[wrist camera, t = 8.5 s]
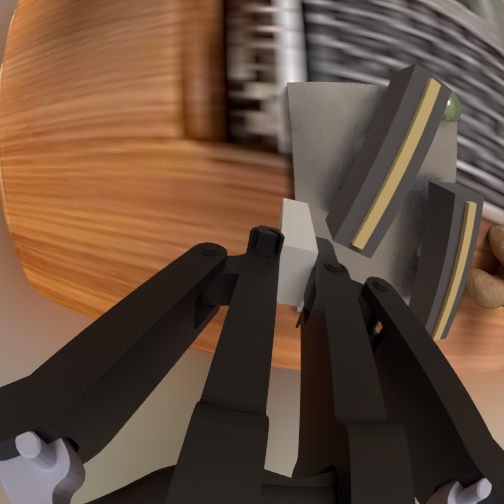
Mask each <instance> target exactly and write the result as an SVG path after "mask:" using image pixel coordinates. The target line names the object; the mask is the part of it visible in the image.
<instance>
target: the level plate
mask: <svg viewBox="0 0 504 504" xmlns="http://www.w3.org/2000/svg"><path fill="white" fill-rule="evenodd" d="M387 88H388V87H387V86H379V85H368V84H356V83H337V82H292V83H287V90H288V100H289V112H290V124H291V137H292V152H293V168H294V187H295V201H299V202H304V203H308V206H309V211H310V215H311V220H312V224H313V229H314V233H315V236H316V237H320V238H325V239H328V240H329V241H330V242H331V243H332V244H333V247H334V250H335V254H336V257H337V260H338V262H339V263H341V264H343V265H344V266H345V267H346V268H347V270H348V272H349V275H350V278H351V279H352V280H355V281H357V282H359V283H362V284H364V283H365V281H366V279H367V278H368V277H380V278H381V279H384V280H385V281H387V282H388V283H390V284H391V285H392V286H393V288H394V289H395V290H396V291H397V293H398V294H399V295H400V296H401V298H402V299H403V300H404V301H405V303H406V304H407V305H408V306H409V302H410V298H411V294H412V290H413V286H414V281H415V277H416V272H417V267H418V262H419V257H418V253H417V251H418V247H419V245H420V243H421V242H422V239H423V232H424V225H425V217H426V208H427V198H428V185H429V181H438V182H449V183H455V180H456V163H457V121H458V120H459V118H460V116H461V104H460V102H459V100H458V98H457V97H456V95H455V94H453V93H452V92H451V95H450V98H449V101H448V104H447V106H446V109H445V112H444V114H443V117H442V120H441V122H440V125H439V127H438V130H437V132H436V134H435V137H434V139H433V142H432V144H431V146H430V148H429V151H428V153H427V155H426V157H425V160H424V162H423V164H422V166H421V168H420V170H419V172H418V174H417V176H416V178H415V180H414V182H413V184H412V186H411V188H410V190H409V192H408V194H407V196H406V198H405V200H404V202H403V204H402V206H401V208H400V209H399V211H398V213H397V215H396V217H395V219H394V220H393V222H392V224H391V226H390V227H389V229H388V231H387V233H386V234H385V236H384V238H383V239H382V241H381V243H380V244H379V246H378V248H377V249H376V251H375V253H374V254H373V256H372V258H371V259H370V258H367V257H365V256H363V255H361V254H359V253H357V252H355V251H353V250H351V249H349V248H347V247H345V246H342V245H340V244H338V243H336V242H334V241H333V240H332V237H331V234H330V232H329V229H328V226H327V223H326V221H325V219H326V217H327V215H328V213H329V211H330V209H331V207H332V205H333V203H334V201H335V199H336V197H337V195H338V193H339V191H340V189H341V187H342V185H343V183H344V181H345V179H346V177H347V175H348V173H349V171H350V169H351V167H352V165H353V163H354V161H355V159H356V157H357V155H358V153H359V150H360V147H361V144H362V143H363V141H364V140H365V138H366V135H367V133H368V131H369V129H370V127H371V124H372V122H373V120H374V118H375V116H376V113H377V111H378V109H379V106H380V104H381V102H382V100H383V97H384V95H385V93H386V90H387ZM303 305H304V298H303V301H302V303H301V306H300V307H297V312H301V311H302V308H303Z"/></svg>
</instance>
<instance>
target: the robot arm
mask: <svg viewBox="0 0 504 504" xmlns="http://www.w3.org/2000/svg"><path fill="white" fill-rule="evenodd" d="M303 298H304V305H303V308H302V311H301V314H300V316H299V319H298V322H297V324H296V328H298V327H299V325H300V324H301V390H300V391H301V392H300V393H301V394H300V426H299V448H298V459H297V462H296V465H295V467H294V470H293V473H292V477H291V478H290V477H286V476H284V475H280V474H277V473H274V472H271V471H268V470H265V469H264V464H265V456H266V448H267V440H268V431H269V418H268V416H267V415H266V404H267V396H268V387H269V378H270V369H271V359H272V349H273V338H274V327H275V316H276V304H277V303H281V304H286V305H291V306H296V307H300V306H301V303H302V301H303ZM220 306H229V308H228V312H227V315H226V318H225V321H224V325H223V328H222V331H221V334H220V337H219V341H218V344H217V347H216V350H215V354H214V357H213V360H212V363H211V367H210V370H209V373H208V376H207V380H206V383H205V386H204V389H203V393H202V396H201V399H200V401H199V402H197V404H196V406H195V408H194V411H193V414H192V416H191V420H190V423H189V426H188V429H187V432H186V436H185V439H184V442H183V445H182V449H181V452H180V455H179V458H178V461H177V465H173V466H169V467H165V468H162V469H159V470H156V471H154V472H151V473H150V474H148V475H146V476H144V477H142V478H140V479H138V480H136V481H134V482H132V483H130V484H128V485H127V486H124V487H122V488H120V489H118V490H116V491H113V492H111V493H109V494H107V495H105V496H102V497H100V498H97V499H95V500H93V501H90V502H88V503H85V504H415V497H416V499H417V501H418V502H419V503H420V504H504V450H503V449H502V448H501V447H500V446H499V445H498V444H497V442H496V441H495V440H494V439H493V438H492V436H491V434H490V432H489V430H488V428H487V426H486V424H485V422H484V420H483V419H482V417H481V415H480V413H479V411H478V410H477V408H476V406H475V404H474V403H473V401H472V400H471V397H470V396H469V394H468V392H467V391H466V389H465V387H464V386H463V384H462V382H461V381H460V379H459V378H458V376H457V375H456V373H455V371H454V370H453V368H452V367H451V365H450V364H449V362H448V361H447V359H446V358H445V356H444V355H443V353H442V352H441V350H440V349H439V347H438V346H437V345H436V343H435V342H434V340H433V339H432V338H431V336H430V335H429V333H428V332H427V331H426V329H425V328H424V326H423V325H422V324H421V322H420V321H419V320H418V318H417V317H416V316H415V314H414V313H413V312H412V310H411V309H410V308H409V307H408V305H407V304H406V303H405V301H404V300H403V299H402V298H401V296H400V295H399V294H398V293H397V291H396V290H395V289H394V288H393V286H392V285H391V284H390V283H388V282H387V281H385V280H384V279H381V278H380V277H368V278H367V279H366V281H365V283H364V284H362V283H359V282H357V281H355V280H352V279H351V278H350V275H349V272H348V270H347V268H346V267H345V266H344V265H343V264H341V263H339V262H338V260H337V257H336V254H335V250H334V247H333V244H332V243H331V242H330V241H329V240H328V239H325V238H320V237H316V236H315V233H314V229H313V224H312V220H311V215H310V211H309V206H308V203H304V202H299V201H295V200H291V199H286V198H284V199H283V204H282V208H281V213H280V217H279V222H278V226H277V229H276V228H271V227H267V226H262V225H260V226H258V227H255V228H252V229H251V231H250V236H249V241H248V247H247V251H246V253H245V254H243V255H238V256H227V250H226V249H225V248H224V247H222V246H220V245H218V244H214V243H209V242H206V243H200V244H198V245H195V246H194V247H192V248H191V249H190V250H188V251H187V252H185V253H184V254H183V255H181V256H180V257H179V258H177V259H176V260H174V261H173V262H172V263H170V264H169V265H168V266H166V267H165V268H163V269H162V270H161V271H159V272H158V273H157V274H155V275H154V276H153V277H151V278H150V279H149V280H147V281H146V282H145V283H143V284H142V285H141V286H139V287H138V288H137V289H135V290H134V291H133V292H132V293H130V294H129V295H128V296H126V297H125V298H124V299H122V300H121V301H120V302H119V303H117V304H116V305H115V306H113V307H112V308H111V309H110V310H108V311H107V312H106V313H104V314H103V315H102V316H101V317H99V318H98V319H97V320H96V321H94V322H93V323H92V324H91V325H89V326H88V327H87V328H86V329H84V330H83V331H82V332H81V333H79V334H78V335H77V336H76V337H75V338H74V339H72V340H71V341H70V342H68V343H67V344H66V345H65V346H64V347H63V348H61V349H60V350H59V351H58V352H56V353H55V354H54V355H53V356H52V357H51V358H49V359H48V360H47V361H46V362H45V363H44V364H42V365H41V366H40V367H39V368H38V369H37V370H35V371H34V372H33V373H32V374H31V375H29V376H27V377H25V378H22V379H20V380H17V381H15V382H12V383H10V384H7V385H5V386H3V387H0V481H1V483H2V485H3V488H4V490H5V491H6V494H7V496H8V498H9V500H10V502H11V504H70V501H71V498H72V496H73V494H74V493H75V492H76V491H77V490H78V489H79V488H80V487H81V486H82V485H83V482H84V481H85V469H84V466H83V464H84V463H86V462H88V461H89V460H90V459H92V458H93V457H94V456H95V455H97V454H98V453H99V452H100V451H101V450H102V449H103V448H104V447H105V446H106V445H107V444H108V443H109V442H110V441H111V440H112V439H113V438H114V436H115V435H116V434H117V433H118V432H119V430H120V429H121V428H122V427H123V426H124V425H125V423H126V422H127V421H128V420H129V419H130V418H131V416H132V415H133V414H134V413H135V411H136V410H137V409H138V408H139V407H140V406H141V404H142V403H143V402H144V401H145V400H146V398H147V397H148V396H149V395H150V394H151V392H152V391H153V390H154V389H155V388H156V386H157V385H158V384H159V383H160V382H161V380H162V379H163V378H164V377H165V376H166V374H167V373H168V372H169V370H170V369H171V368H172V367H173V366H174V365H175V363H176V362H177V361H178V359H180V357H181V356H182V355H183V353H184V352H185V351H186V350H187V349H188V348H189V346H190V345H191V344H192V343H193V341H194V340H195V339H196V338H197V337H198V335H199V334H200V333H201V332H202V330H203V329H204V328H205V327H206V326H207V324H208V323H209V322H210V321H211V319H212V318H213V317H214V316H215V314H216V313H217V312H218V311H219V308H220ZM379 321H380V322H381V324H382V326H383V327H382V329H381V331H380V332H379V334H378V333H377V332H376V330H375V328H376V327H377V325H378V323H379Z"/></svg>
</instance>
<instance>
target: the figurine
mask: <svg viewBox="0 0 504 504" xmlns="http://www.w3.org/2000/svg"><path fill="white" fill-rule="evenodd" d="M488 240H489V244H490V247H491V250H492V252H493V254H494V255H495V257H496V258H497V259H499V261H500V263H501V264H500V267H499V269H498V270H497V272H496V273H495V274H493V275H490V274H488V273H486V272H485V271H483V270H480V269H470V271H469V274H468V278H467V281H466V284H465V288H466V290H467V292H468V294H469V295H470V296H471V298H472V299H473V300H474V302H475V303H476V304H477V305H479V306H481V307H483V308H486V309H495V308H498V307H501V306H502V307H504V226H493V227H491V228H490V230H489V232H488Z"/></svg>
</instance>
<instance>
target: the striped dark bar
mask: <svg viewBox="0 0 504 504" xmlns="http://www.w3.org/2000/svg"><path fill="white" fill-rule="evenodd" d="M451 92H452V90H451V89H450V88H448V87H447V86H446V85H445V84H443V83H442V82H441V81H440V80H438V79H437V78H436V77H434V76H433V75H432V74H430V73H429V72H428V71H426V70H425V69H424V68H422V67H421V66H419V65H418V64H414V65H412V66H409V67H407V68H405V69H403V70H400V71H398V72H396V73H394V74H393V76H392V78H391V81H390V83H389V85H388V88H387V90H386V93H385V95H384V97H383V100H382V102H381V104H380V106H379V109H378V111H377V113H376V116H375V118H374V120H373V122H372V124H371V127H370V129H369V131H368V133H367V135H366V138H365V140H364V141H363V143H362V144H361V147H360V150H359V153H358V155H357V157H356V159H355V161H354V163H353V165H352V167H351V169H350V171H349V173H348V175H347V177H346V179H345V181H344V183H343V185H342V187H341V189H340V191H339V193H338V195H337V197H336V199H335V201H334V203H333V205H332V207H331V209H330V211H329V213H328V215H327V217H326V219H325V221H326V223H327V226H328V229H329V232H330V234H331V237H332V240H333V241H334V242H336V243H338V244H340V245H342V246H345V247H347V248H349V249H351V250H353V251H355V252H357V253H359V254H361V255H363V256H365V257H367V258H370V259H371V258H372V256H373V254H374V253H375V251H376V249H377V248H378V246H379V244H380V243H381V241H382V239H383V238H384V236H385V234H386V233H387V231H388V229H389V227H390V226H391V224H392V222H393V220H394V219H395V217H396V215H397V213H398V211H399V209H400V208H401V206H402V204H403V202H404V200H405V198H406V196H407V194H408V192H409V190H410V188H411V186H412V184H413V182H414V180H415V178H416V176H417V174H418V172H419V170H420V168H421V166H422V164H423V162H424V160H425V157H426V155H427V153H428V151H429V148H430V146H431V144H432V142H433V139H434V137H435V134H436V132H437V130H438V127H439V125H440V122H441V120H442V117H443V114H444V112H445V109H446V106H447V104H448V101H449V98H450V95H451Z"/></svg>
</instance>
